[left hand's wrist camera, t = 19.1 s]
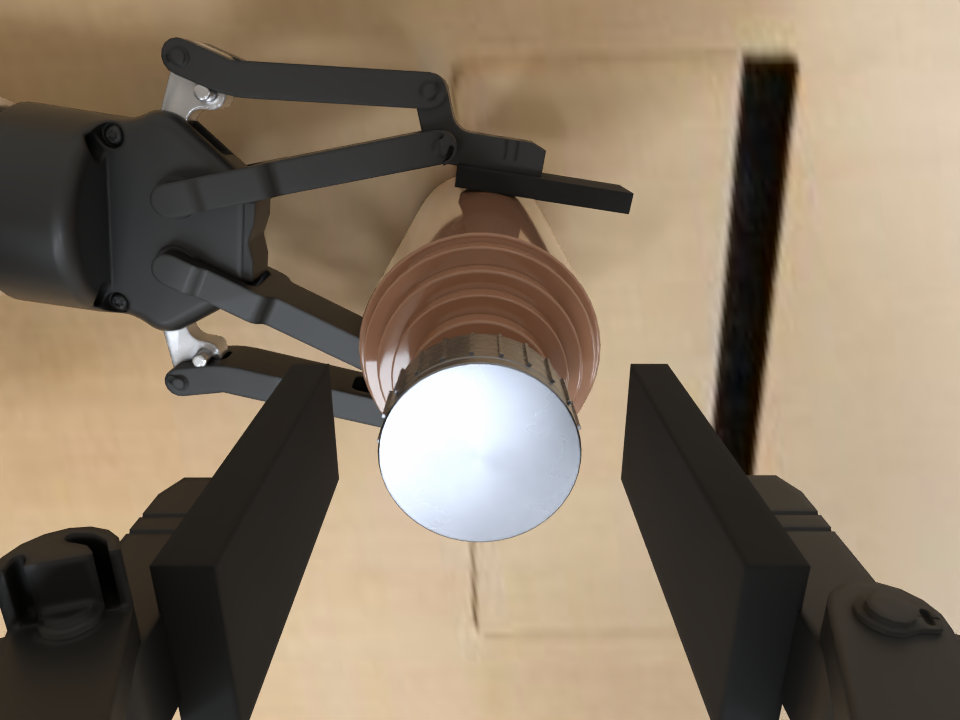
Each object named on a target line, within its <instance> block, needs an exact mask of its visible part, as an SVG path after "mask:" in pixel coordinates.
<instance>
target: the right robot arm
mask: <svg viewBox="0 0 960 720" xmlns="http://www.w3.org/2000/svg"><path fill="white" fill-rule="evenodd" d="M161 57H162V60H163V63H164V65H165V66H166V67H167V69H168V70H169V71H170V75H169V79H168V83H167V87H166V91H165V95H164V100H163V104H162V108H161V110H156V111H151V112H149V113H146V114H144V115H142V116H139V117H135V118H132V117H124V116H118V115H111V114H105V113H99V112H92V111H86V110H80V109H73V108H67V107H61V106H54V105H48V104H41V103H35V102H21V103H17V104H16V103H14V102H12V101H10V100H8V99H6V98H4V97H0V296H1V295H5V294H6V295H8V296H10V297H12V298H15V299H19V300H24V301H31V302H38V303H45V304H52V305H59V306H67V307H74V308H81V309H88V310H95V311H103V312H116V313H126V314H130V315H133V316H135V317H137V318H140V319H141V320H143V321H145V322H146V323H148V324H149V325H151V326H152V327H154V328H156V329H159V330H163V331H164V334H165V338H166V341H167V345H168V348H169V352H170V355H171V359H172V362H173V367H174V368H173V369H172V370H171V371H169V372H168V373H167V374H166V377H165V384H166V386H167V388H168V390H169V391H171V392H172V393H173V394H175V395H178V396H189V395H199V394H210V393H220V392H225V393H229V394H234V395H238V396H243V397H247V398H252V399H256V400H261V401H265V402H266V401H267V399H268V398H269V397H270V395H271V394H272V392H273V391H274V390H275V388H276V387H277V385H278V384H279V383H280V381H281V380H282V378H283V377H284V375H285V374H286V373H287V371H288V370H289V368H290V367H291V366H292V364H324V363H319V362H315V361H311V360H306V359H302V358H298V357H293V356H289V355H285V354H280V353H276V352H272V351H267V350H263V349H258V348H253V347H247V346H227V344H226V343H227V342H226V340H225V339H224V338H223V337H221V336H217V335H212V334H207V333H205V332H203V331H202V330H200V328H199V327H198V326H197V324H196V322H197V321H199V320H200V319H202V318H204V317H206V316H208V315H210V314H212V313H214V312H215V311H217V310H219V309H222V310H224V311H226V312H228V313H230V314H233V315H235V316H237V317H239V318H241V319H243V320H245V321H248V322H250V323H254V324H265V325H268V326H270V327H272V328H274V329H276V330H278V331H280V332H283V333H285V334H287V335H289V336H291V337H293V338H295V339H297V340H299V341H302V342H304V343H306V344H308V345H310V346H312V347H314V348H316V349H318V350H320V351H323V352H325V353H327V354H329V355H331V356H333V357H335V358H337V359H339V360H341V361H344V362H346V363H348V364H350V365H352V366H354V367H356V368H358V369H360V370H362V368H361V363H360V354H359V338H360V329H361V324H362V319H363V317H361V316H359V315H357V314H355V313H353V312H351V311H349V310H347V309H345V308H343V307H341V306H339V305H337V304H335V303H333V302H331V301H329V300H327V299H325V298H323V297H321V296H319V295H316V294H314V293H312V292H310V291H308V290H306V289H304V288H302V287H300V286H298V285H296V284H294V283H293V282H291V281H290V279H289V278H288V277H287V276H286V275H284V274H283V273H281V272H279V271H277V270H274V269H272V268H270V267H268V250H267V245H266V241H265V236H264V230H265V227H266V224H267V221H268V218H269V215H270V198H273V197H277V196H280V195H285V194H290V193H295V192H301V191H306V190H311V189H316V188H321V187H327V186H332V185H337V184H342V183H347V182H352V181H358V180H363V179H368V178H373V177H378V176H384V175H389V174H394V173H399V172H404V171H409V170H415V169H420V168H425V167H430V166H435V165H441V164H443V166H444V165H446V164H451V165H457V172H456V179H455V187H458V188H464V189H470V190H477V191H483V192H490V193H497V194H503V195H509V196H515V197H522V198H528V199H535V200H541V201H547V202H554V203H560V204H567V205H573V206H580V207H586V208H592V209H599V210H605V211H612V212H618V213H624V214H629V211H630V207H631V202H632V198H633V193H632V192H630V191H628V190H627V189H625V188H623V187H622V186H620V185H616V184H610V183H603V182H597V181H591V180H584V179H578V178H572V177H565V176H559V175H553V174H546V173H542V170H543V164H544V158H545V153H546V151H545V150H544V149H543V148H541V147H540V146H538V145H536V144H535V143H533V142H532V141H528V140H522V139H515V138H509V137H503V136H497V135H491V134H485V133H478V132H472V131H468V130H466V129H464V128H462V127H461V126H460V125H459V124H458V123H457V121H456V119H455V117H454V114H453V109H452V104H451V99H450V94H449V87H448V85H447V83H446V81H445V80H444V79H443V78H442V77H440V76H439V75H437V74H434V73H431V72H417V71H401V70H385V69H368V68H352V67H336V66H319V65H303V64H287V63H270V62H254V61H246V60H243V59H241V58H239V57H237V56H234V55H232V54H230V53H228V52H225V51H223V50H221V49H219V48H216V47H214V46H212V45H210V44H206V43H201V42H197V41H192V40H187V39H181V38H177V37H176V38H171V39H169V40H168V41H167V42H165V43H164V45H163V48H162V55H161ZM234 97H242V98H253V99H269V100H286V101H302V102H319V103H336V104H352V105H369V106H386V107H402V108H417V111H418V116H419V121H420V125H421V130H422V131H418V132H413V133H408V134H402V135H397V136H392V137H387V138H382V139H377V140H372V141H367V142H362V143H357V144H352V145H347V146H341V147H336V148H331V149H326V150H321V151H316V152H311V153H306V154H301V155H296V156H291V157H284V158H279V159H274V160H269V161H263V162H258V163H253V164H248V165H245V164H244V163H243V162H242V161H241V160H240V159H239V158H238V157H237V156H236V155H234V154H233V153H232V152H231V151H230V150H229V149H228V148H227V147H226V146H225V145H223V144H222V143H221V142H220V141H219V140H218V139H217V138H216V137H215V136H214V135H213V134H211V133H210V132H209V131H208V130H207V129H206V128H205V127H204V126H203V125H202V124H200V123H199V122H198V121H197V118H198V116H199V114H200V113H201V112H202V111H204V110H205V109H209V110H221V109H226V108H227V107H229V106H230V105H231V104H232V102H233V100H234ZM329 367H330V379H331V390H332V402H333V414H334V417H337V418H341V419H346V420H350V421H355V422H359V423H363V424H368V425H372V426H377V427H381V426H382V423H383V420H384V418H382V413H381V412H380V410H379V409H378V407H377V405H376V403H375V402H374V400H373V398H372V396H371V394H370V392H369V390H368V388H367V385H366V382H365V379H364V376H363V373H362V372H358V371H354V370H350V369H345V368H341V367H337V366H332V365H329Z"/></svg>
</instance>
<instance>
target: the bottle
mask: <svg viewBox="0 0 960 720" xmlns="http://www.w3.org/2000/svg"><path fill="white" fill-rule="evenodd" d="M455 179H456V176H455V177H453V178H450V179H448V180H447V181H445V182H443V183H442V184H440V185H439V186H438V187H437V188H435V189H434V190H433V191H432V192H431V193H430V194H429V195H428V197H427V198H426V199H425V201H424V202H423V204H422V205H421V207H420V209H419V211H418V213H417V214H416V216H415V218H414V220H413V222H412V223H411V225H410V227H409V229H408V231H407V232H406V234H405V236H404V238H403V240H402V242H401V243H400V245H399V247H398V249H397V251H396V252H395V254H394V256H393V258H392V260H391V261H390V263H389V265H388V267H387V269H386V270H385V272H384V274H383V276H382V278H381V280H380V281H379V283H378V285H377V287H376V289H375V290H374V292H373V294H372V296H371V298H370V300H369V302H368V304H367V307H366V310H365V313H364V315H363V319H362V324H361V329H360V338H359V354H360V363H361V368H362V373H363V376H364V379H365V382H366V385H367V388H368V390H369V392H370V394H371V396H372V398H373V400H374V402H375V403H376V405H377V407H378V409H379V410H380V412H381V413H382V414H383V410H384V407H385V404H386V401H387V397H388V394H389V391H390V390H391V391H393V389H394V387H395V384H396V382H397V380H398V377H399V374H400V370H401V369H402V368H403V369H405V368H406V367H407V366H408V365H409V364H410V363H411V362H412V361H413V360H414V359H415V358H416V357H417V356H418V353H419V351H421V350H422V351H425V350H426V349H428V348H430V347H431V346H433V345H435V344H437V343H439V342H442V340H443V338H447V339H450V338H453V337H457V336H462V335H469V334H470V332H474V334H490V335H498V334H502V337H506V338H510V339H513V340H515V341H518V342H520V343H522V344H524V342H525V343H527V344H528V346H529V347H530V348H532V349H533V350H534V351H536V352H537V353H539V354H540V355H541V356H542V357H544V358H545V359H546V358H548V359H549V360H550V363H551V366H552V367H553V368H554V369H555V370H556V372H557V373H558V375H559V376H560V378H564V379H565V382H566V385H567V389H568V392H569V395H570V398H571V401H573V404H574V407H575V411H576V414H578V412H579V411H580V409H581V408H582V406H583V404H584V402H585V401H586V399H587V397H588V395H589V393H590V391H591V389H592V386H593V383H594V380H595V378H596V375H597V370H598V365H599V360H600V332H599V327H598V322H597V317H596V314H595V311H594V309H593V306H592V303H591V301H590V299H589V297H588V295H587V293H586V292H585V290H584V288H583V286H582V284H581V282H580V281H579V279H578V277H577V275H576V273H575V272H574V270H573V268H572V266H571V264H570V262H569V261H568V259H567V257H566V255H565V253H564V252H563V250H562V248H561V246H560V244H559V242H558V241H557V239H556V237H555V235H554V233H553V232H552V230H551V228H550V226H549V224H548V222H547V221H546V219H545V217H544V215H543V213H542V212H541V210H540V208H539V206H538V204H537V203H536V201H535V200H534V199H528V198H522V197H515V196H509V195H503V194H497V193H490V192H483V191H477V190H470V189H464V188H458V187H455Z"/></svg>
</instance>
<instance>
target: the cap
mask: <svg viewBox="0 0 960 720" xmlns="http://www.w3.org/2000/svg"><path fill="white" fill-rule="evenodd" d="M382 418H384V420H383V423H382V426H381V430H380V433H379V436H378V440H377V443H378V461H379V467H380V471H381V475H382V478H383V481H384V483H385V486H386V488H387V490H388V491H389V493H390V495H391V497H392V498H393V499H394V501H395V502H396V504H397V505H398V506H399V507H400V508H401V509H402V510H403V511H404V512H405V513H406V515H408V516H409V517H410V518H411V519H413V520H414V521H415V522H416V523H418V524H420V525H421V526H423V527H424V528H426V529H428V530H430V531H432V532H434V533H436V534H439V535H442V536H445V537H448V538H451V539H456V540H461V541H469V542H490V541H499V540H503V539H508V538H512V537H515V536H517V535H520V534H523V533H525V532H527V531H529V530H531V529H533V528H535V527H537V526H538V525H540V524H541V523H543V522H544V521H546V520H547V519H548V518H549V517H550V516H551V515H553V514H554V513H555V512H556V511H557V510H558V509H559V507H560V506H561V505H562V504H563V503H564V501H565V500H566V498H567V497H568V495H569V494H570V492H571V490H572V488H573V486H574V484H575V482H576V479H577V476H578V473H579V468H580V463H581V441H580V435H579V431H578V429H581V428H580V424H579V420H578V417H577V414H576V411H575V407H574V404H573V401H571V398H570V395H569V392H568V389H567V385H566V382H565V379H564V378H560V376H559V375H558V373H557V372H556V370H555V369H554V368H553V367H552V366H551V363H550V360H549V359H548V358H546V359H545V358H544V357H542V356H541V355H540V354H539V353H537V352H536V351H534V350H533V349H532V348H530V347H529V346H528V344H527V343H525V342H524V344H522V343H520V342H518V341H515V340H513V339H510V338H506V337H502V334H498V335H490V334H474V332H470V334H469V335H462V336H457V337H453V338H450V339H447V338H443V340H442V342H439V343H437V344H435V345H433V346H431V347H430V348H428V349H426V350H425V351H422V350H421V351H419V353H418V356H417V357H416V358H415V359H414V360H413V361H412V362H411V363H410V364H409V365H408V366H407V367H406V368H405V369H403V368H402V369H401V370H400V374H399V377H398V380H397V382H396V384H395V387H394V389H393V391H391V390H390V391H389V394H388V397H387V401H386V404H385V407H384V410H383V414H382Z"/></svg>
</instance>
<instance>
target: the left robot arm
mask: <svg viewBox="0 0 960 720" xmlns="http://www.w3.org/2000/svg"><path fill="white" fill-rule="evenodd" d="M338 480H339V474H338V462H337V450H336V438H335V426H334V414H333V402H332V390H331V379H330V367H329V364H292V366H291V367H290V368H289V370H288V371H287V373H286V374H285V375H284V377H283V378H282V380H281V381H280V383H279V384H278V385H277V387H276V388H275V390H274V391H273V392H272V394H271V395H270V397H269V398H268V399H267V401H266V402H265V404H264V405H263V407H262V408H261V409H260V411H259V412H258V414H257V415H256V416H255V418H254V419H253V421H252V422H251V423H250V425H249V426H248V428H247V429H246V430H245V432H244V433H243V435H242V436H241V438H240V439H239V440H238V442H237V443H236V445H235V446H234V447H233V449H232V450H231V452H230V453H229V454H228V456H227V457H226V459H225V460H224V462H223V463H222V464H221V466H220V467H219V469H218V470H217V471H216V473H215V474H214V476H213V477H212V478H183V479H181V480H180V481H178V482H177V483H175V484H174V485H172V486H171V487H169V488H167V489H166V490H164V491H163V492H161V493H160V494H158V496H157V497H156V498H155V499H154V500H153V502H152V503H151V504H150V505H149V507H148V508H147V509H146V510H145V511H144V513H143V517H140V518H139V519H138V520H137V521H136V523H135V524H134V525H133V526H132V527H131V529H130V533H129V534H126V535H125V536H124V537H123V539H122V540H121V541H119V537H117V536H116V535H115V534H113V533H112V532H111V531H109V530H106V529H101V528H96V527H78V528H68V529H64V530H60V531H56V532H52V533H48V534H44V535H42V536H39V537H37V538H35V539H32V540H30V541H28V542H26V543H23V544H21V545H19V546H18V547H16V548H15V549H13V550H12V551H10V552H9V553H8V554H6V555H5V556H3V557H2V558H1V559H0V608H1V612H2V615H3V618H4V621H5V625H6V628H7V633H6V635H5V637H3V638H0V720H172V718H173V716H174V714H175V712H176V710H177V708H178V707H179V712H180V717H181V720H250V717H251V714H252V712H253V709H254V706H255V703H256V701H257V698H258V695H259V693H260V690H261V687H262V685H263V682H264V679H265V677H266V674H267V671H268V668H269V666H270V663H271V660H272V658H273V655H274V652H275V650H276V647H277V644H278V642H279V639H280V636H281V634H282V631H283V628H284V625H285V623H286V620H287V617H288V615H289V612H290V609H291V607H292V604H293V601H294V599H295V596H296V593H297V590H298V588H299V585H300V582H301V580H302V577H303V574H304V572H305V569H306V566H307V564H308V561H309V558H310V556H311V553H312V550H313V547H314V545H315V542H316V539H317V537H318V534H319V531H320V529H321V526H322V523H323V521H324V518H325V515H326V512H327V510H328V507H329V504H330V502H331V499H332V496H333V494H334V491H335V488H336V486H337V483H338ZM621 480H622V483H623V486H624V488H625V491H626V494H627V496H628V499H629V502H630V504H631V507H632V510H633V512H634V515H635V518H636V521H637V523H638V526H639V529H640V531H641V534H642V537H643V539H644V542H645V545H646V547H647V550H648V553H649V556H650V558H651V561H652V564H653V566H654V569H655V572H656V574H657V577H658V580H659V582H660V585H661V588H662V590H663V593H664V596H665V599H666V601H667V604H668V607H669V609H670V612H671V615H672V617H673V620H674V623H675V625H676V628H677V631H678V634H679V636H680V639H681V642H682V644H683V647H684V650H685V652H686V655H687V658H688V660H689V663H690V666H691V668H692V671H693V674H694V677H695V679H696V682H697V685H698V687H699V690H700V693H701V695H702V698H703V701H704V703H705V706H706V709H707V712H708V714H709V717H710V720H779V717H780V712H781V707H782V704H783V706H784V708H785V710H786V712H787V714H788V716H789V718H790V720H960V635H957V634H954V632H953V630H952V628H951V627H950V626H949V624H948V623H947V621H946V620H945V619H944V617H943V616H942V614H940V613H939V612H938V611H936V610H935V609H934V608H933V607H931V606H930V605H929V604H927V603H926V602H925V601H923V600H922V599H920V598H918V597H916V596H914V595H911V594H909V593H907V592H905V591H903V590H901V589H898V588H895V587H891V586H888V585H884V584H881V583H877V582H875V581H874V579H873V578H872V577H871V576H870V574H869V573H868V572H867V571H866V570H865V568H864V567H863V566H862V565H861V563H860V562H859V561H858V560H857V559H856V557H855V556H854V555H853V554H852V553H851V551H850V550H849V549H848V548H847V546H846V545H845V544H844V543H843V542H842V540H841V539H840V538H839V537H838V535H837V534H836V533H835V532H834V531H831V527H830V526H829V524H828V523H827V522H826V521H825V520H824V518H823V517H822V516H821V515H818V511H817V510H816V509H815V507H814V506H813V505H812V504H811V503H810V501H809V500H808V499H807V498H806V496H805V495H804V494H803V493H802V492H801V491H800V490H798V489H796V488H795V487H793V486H792V485H790V484H789V483H787V482H785V481H784V480H782V479H781V478H779V477H778V476H776V475H746V474H745V473H744V471H743V470H742V469H741V467H740V466H739V464H738V463H737V462H736V460H735V459H734V457H733V456H732V454H731V453H730V452H729V450H728V449H727V447H726V446H725V445H724V443H723V442H722V440H721V439H720V438H719V436H718V435H717V433H716V432H715V430H714V429H713V428H712V426H711V425H710V423H709V422H708V421H707V419H706V418H705V416H704V415H703V414H702V412H701V411H700V409H699V408H698V407H697V405H696V404H695V402H694V401H693V399H692V398H691V397H690V395H689V394H688V392H687V391H686V390H685V388H684V387H683V385H682V384H681V383H680V381H679V380H678V378H677V377H676V375H675V374H674V373H673V371H672V370H671V368H670V367H669V366H668V364H631V367H630V379H629V390H628V402H627V414H626V426H625V438H624V450H623V462H622V474H621Z"/></svg>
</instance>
